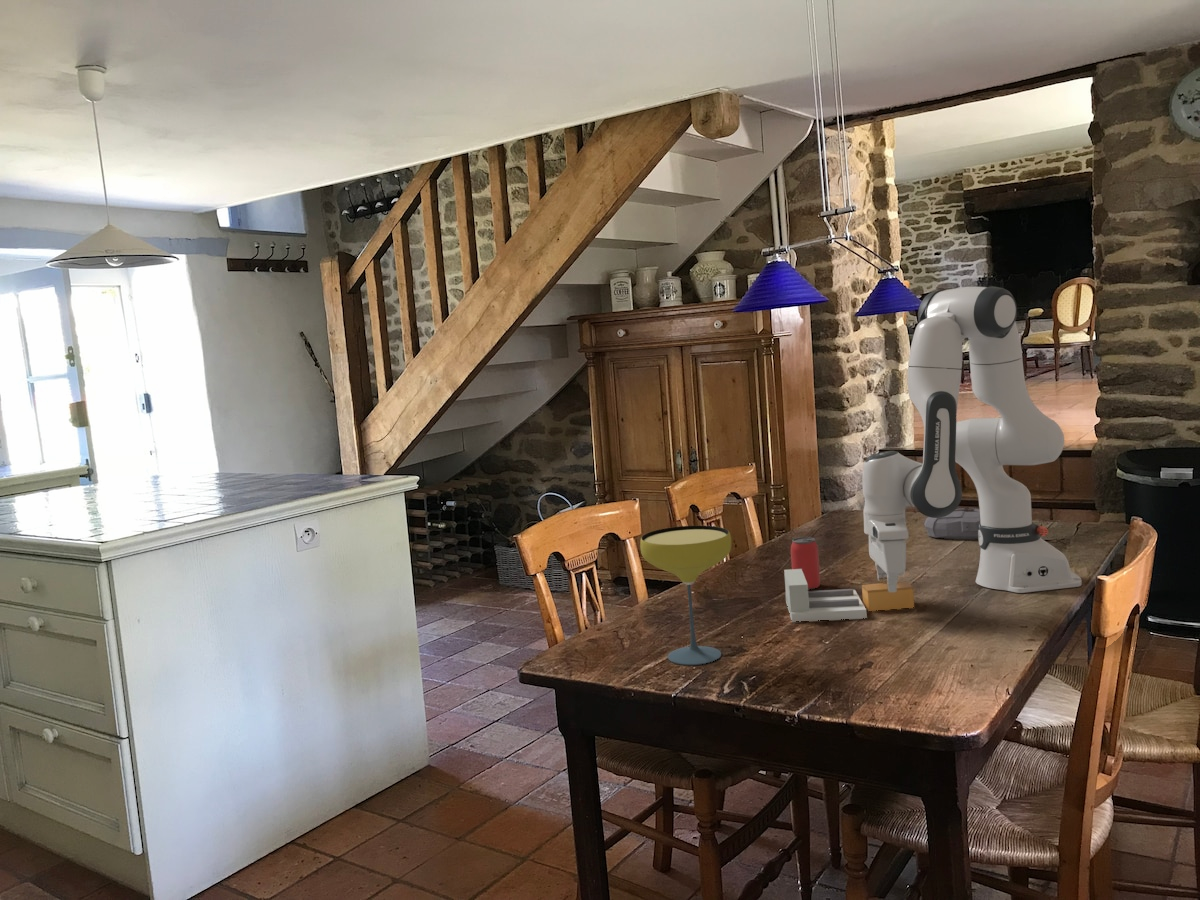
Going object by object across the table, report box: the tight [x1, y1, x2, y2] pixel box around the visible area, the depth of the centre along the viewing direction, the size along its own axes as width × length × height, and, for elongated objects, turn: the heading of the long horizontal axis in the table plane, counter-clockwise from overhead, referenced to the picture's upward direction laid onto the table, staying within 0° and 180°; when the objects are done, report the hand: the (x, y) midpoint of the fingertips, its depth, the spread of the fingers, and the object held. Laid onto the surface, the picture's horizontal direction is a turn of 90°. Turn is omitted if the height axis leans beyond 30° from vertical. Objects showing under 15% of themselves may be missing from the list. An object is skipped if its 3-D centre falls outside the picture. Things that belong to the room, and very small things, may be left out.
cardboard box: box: [861, 580, 915, 612], centre depth 210 cm, size 10×5×5 cm, turn 89°
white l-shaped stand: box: [783, 568, 868, 623], centre depth 212 cm, size 16×16×8 cm
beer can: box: [790, 536, 821, 591], centre depth 232 cm, size 7×7×12 cm
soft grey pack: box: [923, 506, 980, 541], centre depth 272 cm, size 15×8×20 cm
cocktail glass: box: [639, 525, 732, 666], centre depth 188 cm, size 18×18×25 cm
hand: (887, 586), depth 209 cm, fingers open, 8 cm apart
